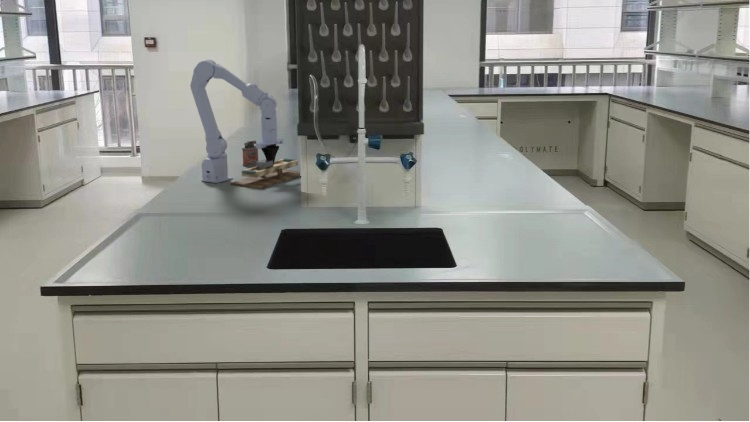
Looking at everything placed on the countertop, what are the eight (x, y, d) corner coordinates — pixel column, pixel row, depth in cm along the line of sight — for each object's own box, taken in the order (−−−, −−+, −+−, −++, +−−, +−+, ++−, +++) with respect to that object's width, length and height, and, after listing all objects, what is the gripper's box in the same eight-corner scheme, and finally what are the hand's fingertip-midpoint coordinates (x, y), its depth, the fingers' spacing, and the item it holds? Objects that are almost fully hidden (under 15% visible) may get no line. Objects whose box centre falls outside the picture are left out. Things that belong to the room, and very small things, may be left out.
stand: (261, 188, 255) (261, 176, 254) (230, 184, 262) (230, 173, 261) (308, 174, 281) (308, 163, 280) (279, 170, 287) (278, 159, 286)
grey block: (265, 170, 264) (264, 162, 263) (256, 169, 266) (256, 161, 265) (273, 168, 268) (272, 160, 268) (264, 167, 270) (264, 159, 269)
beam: (256, 178, 258) (256, 172, 257) (241, 176, 261) (240, 170, 260) (298, 165, 280) (298, 159, 280) (283, 163, 283) (283, 158, 283)
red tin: (246, 166, 296) (245, 142, 293) (240, 165, 298) (239, 141, 295) (260, 163, 302) (259, 140, 299) (255, 163, 304) (254, 139, 301)
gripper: (266, 132, 259) (267, 169, 262) (289, 127, 271) (290, 162, 274) (250, 131, 262) (252, 167, 265) (274, 126, 274) (275, 161, 278)
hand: (270, 165), depth 270 cm, fingers closed
